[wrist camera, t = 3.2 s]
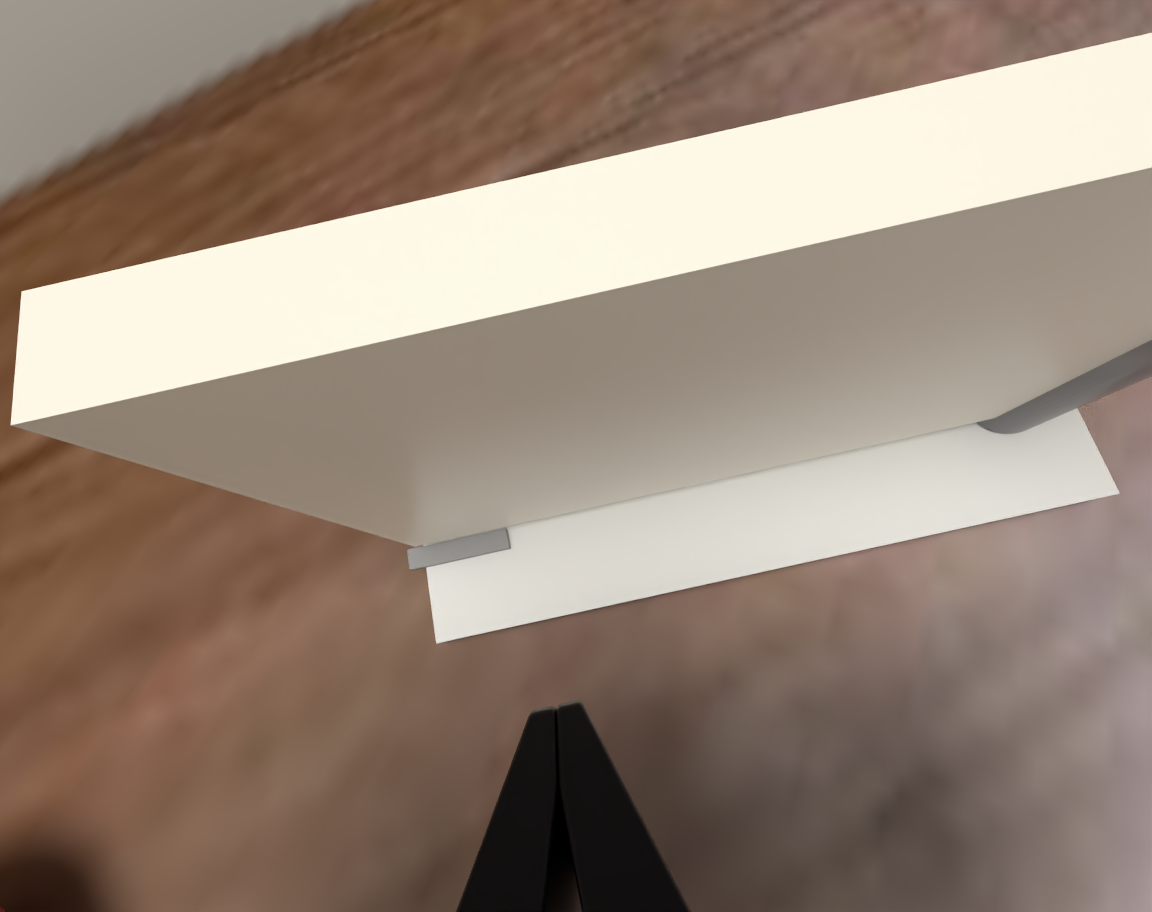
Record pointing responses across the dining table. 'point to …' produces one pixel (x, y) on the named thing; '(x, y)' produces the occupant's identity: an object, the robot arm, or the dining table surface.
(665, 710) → the dining table surface
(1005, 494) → the white base board
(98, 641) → the dining table surface
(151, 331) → the hinged door panel
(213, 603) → the dining table surface
